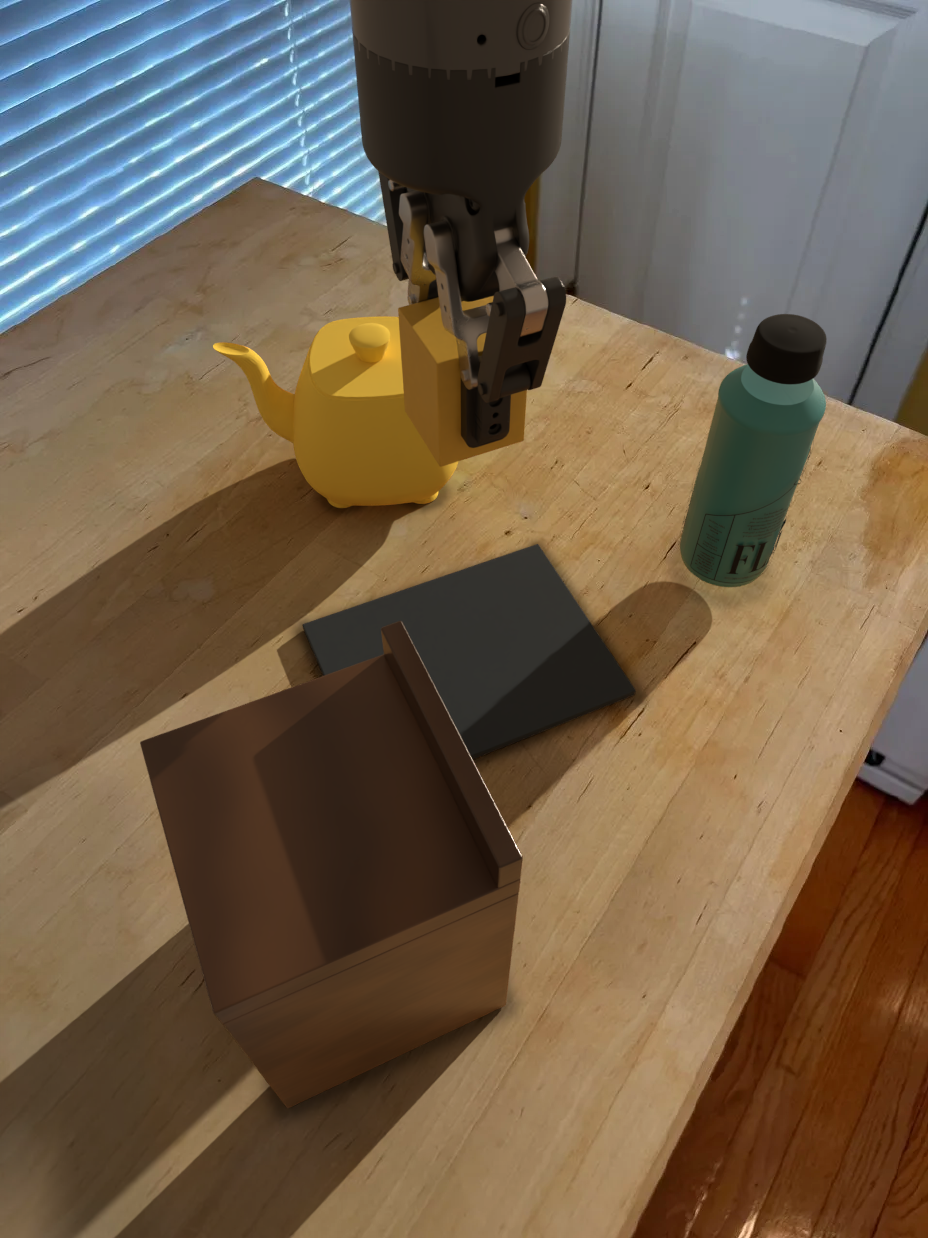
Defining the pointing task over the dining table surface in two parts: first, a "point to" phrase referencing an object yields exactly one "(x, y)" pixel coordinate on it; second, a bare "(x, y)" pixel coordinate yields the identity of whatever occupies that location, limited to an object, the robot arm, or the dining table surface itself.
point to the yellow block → (443, 383)
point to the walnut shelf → (339, 870)
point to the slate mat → (489, 647)
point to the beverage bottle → (755, 453)
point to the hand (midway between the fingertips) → (463, 405)
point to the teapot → (349, 416)
